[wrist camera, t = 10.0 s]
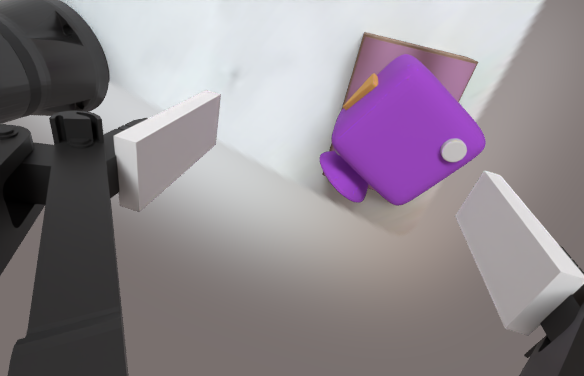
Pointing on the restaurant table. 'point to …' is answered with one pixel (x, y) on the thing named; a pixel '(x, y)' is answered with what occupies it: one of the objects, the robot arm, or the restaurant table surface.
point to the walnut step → (441, 64)
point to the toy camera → (399, 135)
